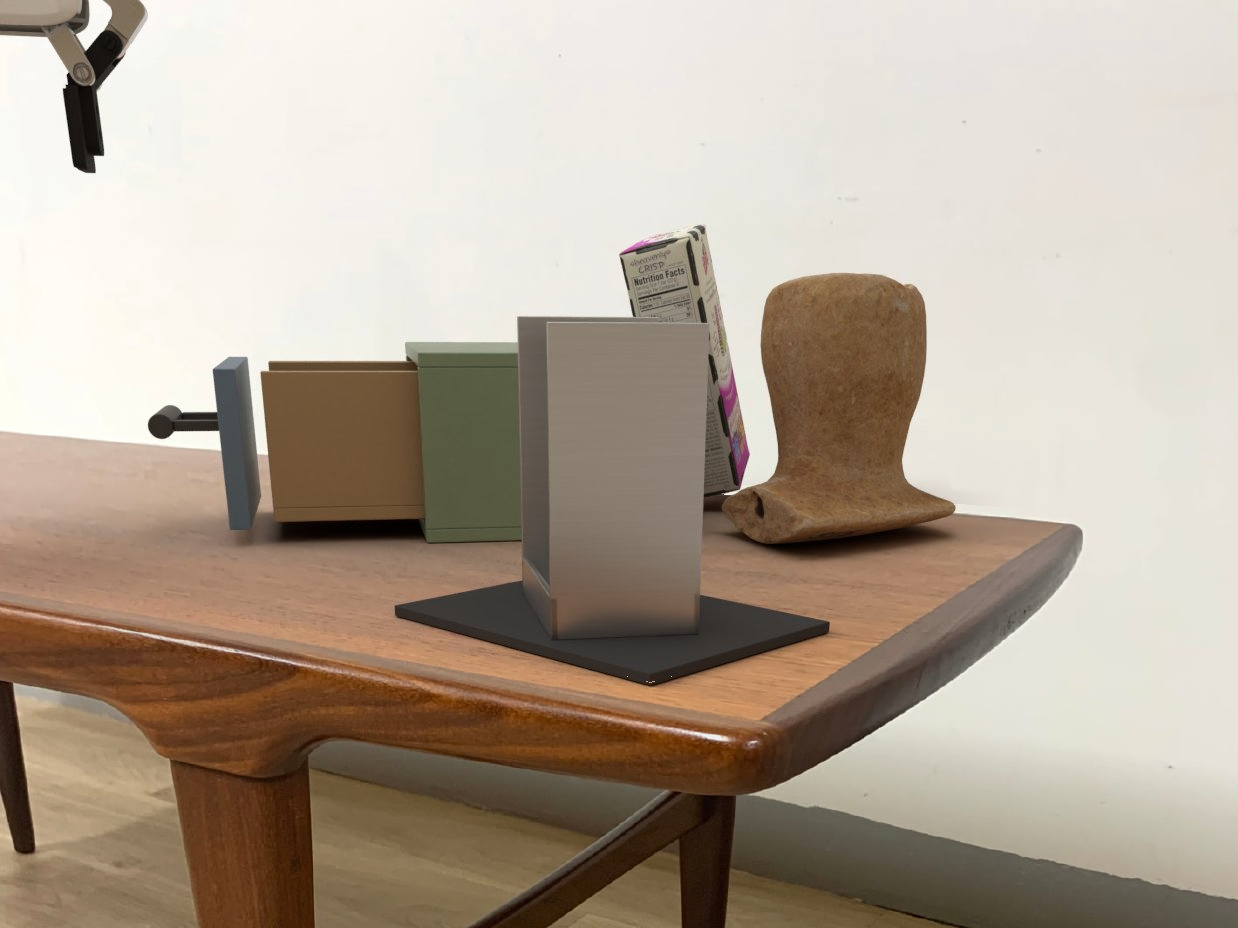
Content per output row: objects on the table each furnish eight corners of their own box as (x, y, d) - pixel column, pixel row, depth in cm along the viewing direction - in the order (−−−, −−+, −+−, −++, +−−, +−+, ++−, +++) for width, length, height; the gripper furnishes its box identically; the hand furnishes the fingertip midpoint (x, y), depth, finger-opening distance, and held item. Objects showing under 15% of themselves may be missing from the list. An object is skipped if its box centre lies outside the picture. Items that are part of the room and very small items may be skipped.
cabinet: (427, 543, 77) (417, 352, 73) (413, 506, 89) (404, 341, 85) (682, 536, 80) (687, 353, 76) (635, 502, 92) (637, 342, 88)
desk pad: (394, 615, 60) (393, 605, 60) (577, 578, 68) (577, 569, 68) (650, 686, 50) (650, 673, 50) (829, 632, 58) (830, 621, 58)
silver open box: (551, 640, 54) (547, 322, 49) (522, 593, 62) (516, 316, 57) (699, 634, 55) (709, 323, 51) (652, 589, 64) (657, 317, 59)
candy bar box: (686, 471, 98) (639, 239, 91) (751, 457, 97) (708, 221, 90) (669, 506, 89) (615, 249, 81) (741, 492, 87) (692, 230, 80)
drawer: (153, 532, 74) (131, 368, 70) (176, 499, 85) (158, 356, 82) (481, 524, 78) (475, 368, 74) (462, 493, 89) (456, 357, 85)
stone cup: (842, 510, 90) (860, 274, 84) (978, 535, 81) (1008, 275, 75) (671, 530, 82) (677, 271, 76) (802, 561, 73) (820, 270, 67)
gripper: (-282, -282, 59) (-189, 158, 66) (122, -246, 62) (169, 169, 69) (-219, -224, 66) (-141, 169, 73) (142, -195, 69) (183, 179, 76)
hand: (10, 166), depth 71 cm, fingers open, 7 cm apart
